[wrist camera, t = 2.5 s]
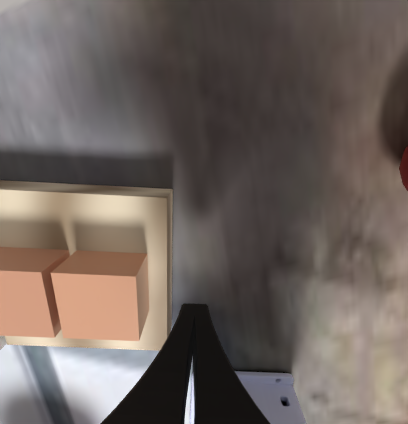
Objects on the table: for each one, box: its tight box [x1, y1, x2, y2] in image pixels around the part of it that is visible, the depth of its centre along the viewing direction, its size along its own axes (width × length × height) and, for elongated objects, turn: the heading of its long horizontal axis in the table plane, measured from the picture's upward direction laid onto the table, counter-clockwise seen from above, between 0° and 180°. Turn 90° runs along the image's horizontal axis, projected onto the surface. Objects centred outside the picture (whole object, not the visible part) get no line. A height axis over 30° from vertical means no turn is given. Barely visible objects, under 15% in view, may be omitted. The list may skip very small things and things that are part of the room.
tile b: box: [0, 247, 70, 338], centre depth 13 cm, size 4×4×2 cm
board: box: [0, 180, 173, 350], centre depth 16 cm, size 12×12×2 cm
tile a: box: [51, 250, 149, 341], centre depth 13 cm, size 4×4×2 cm
